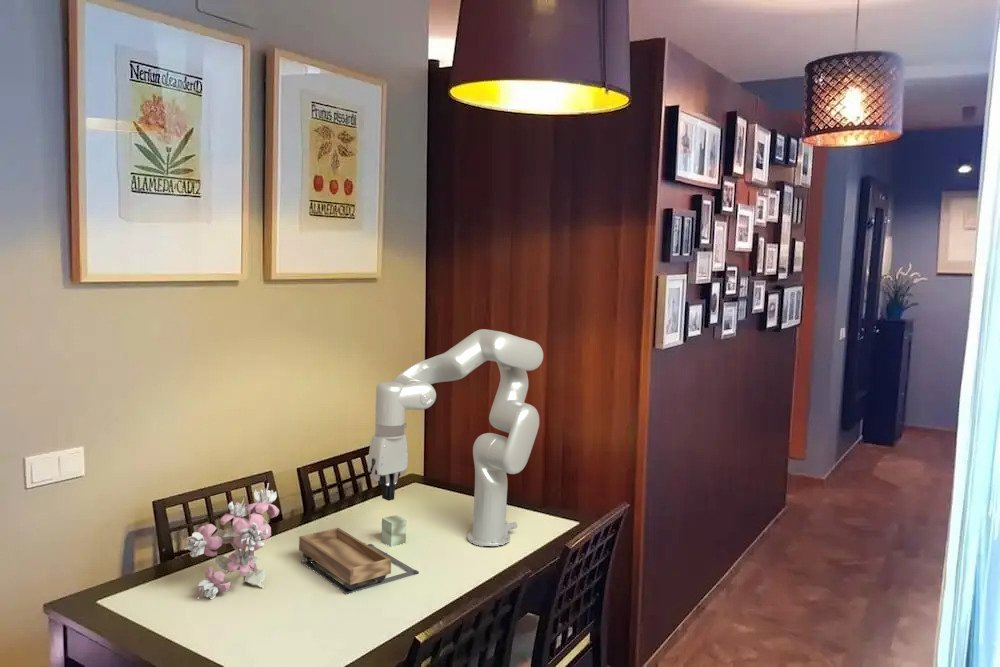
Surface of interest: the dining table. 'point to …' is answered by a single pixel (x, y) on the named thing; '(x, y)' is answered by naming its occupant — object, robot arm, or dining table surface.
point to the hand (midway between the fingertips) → (388, 498)
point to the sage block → (393, 530)
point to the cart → (345, 556)
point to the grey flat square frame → (368, 585)
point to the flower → (235, 542)
